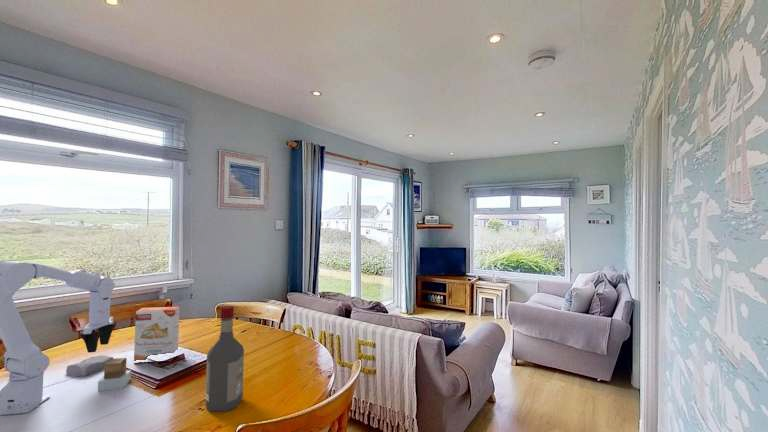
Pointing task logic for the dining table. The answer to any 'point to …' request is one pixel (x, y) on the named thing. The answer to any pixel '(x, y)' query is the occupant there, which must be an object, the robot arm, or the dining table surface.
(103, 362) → the stone block
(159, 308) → the cracker box
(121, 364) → the walnut block
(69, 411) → the dining table surface
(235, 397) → the liquor
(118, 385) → the grey-blue block
